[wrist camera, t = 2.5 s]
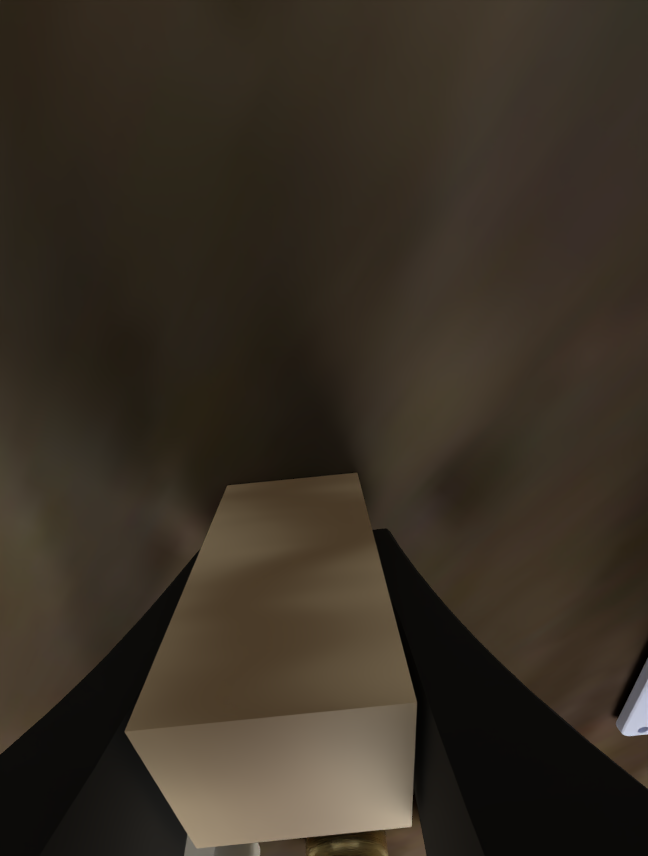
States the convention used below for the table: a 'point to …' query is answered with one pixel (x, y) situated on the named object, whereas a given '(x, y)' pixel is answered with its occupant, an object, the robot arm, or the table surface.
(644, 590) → the table surface
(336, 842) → the token
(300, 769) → the wooden and grey bar
